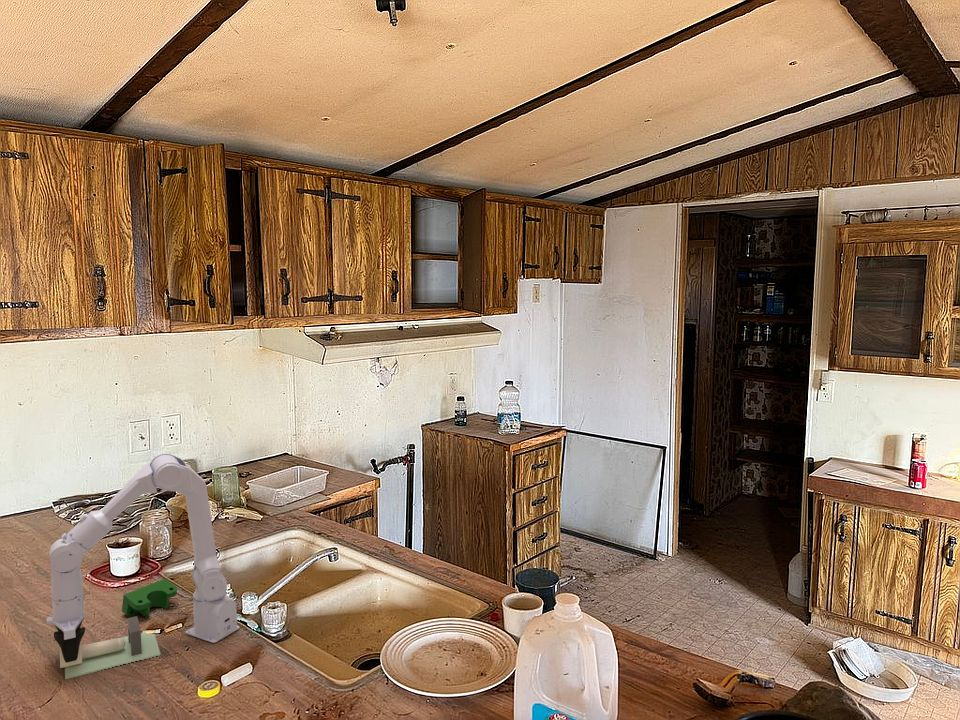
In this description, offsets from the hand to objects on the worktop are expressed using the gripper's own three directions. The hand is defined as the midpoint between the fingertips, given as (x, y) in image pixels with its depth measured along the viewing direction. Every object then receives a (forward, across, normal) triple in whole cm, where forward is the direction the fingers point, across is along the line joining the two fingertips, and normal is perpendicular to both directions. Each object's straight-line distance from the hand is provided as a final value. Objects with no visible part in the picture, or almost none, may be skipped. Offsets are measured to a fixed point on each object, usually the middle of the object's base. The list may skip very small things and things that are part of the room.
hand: (70, 655), depth 147 cm
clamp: (+2, -17, +18) cm, 25 cm away
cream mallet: (+1, 0, +4) cm, 4 cm away
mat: (+2, 0, +8) cm, 8 cm away
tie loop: (+2, 0, +12) cm, 12 cm away
